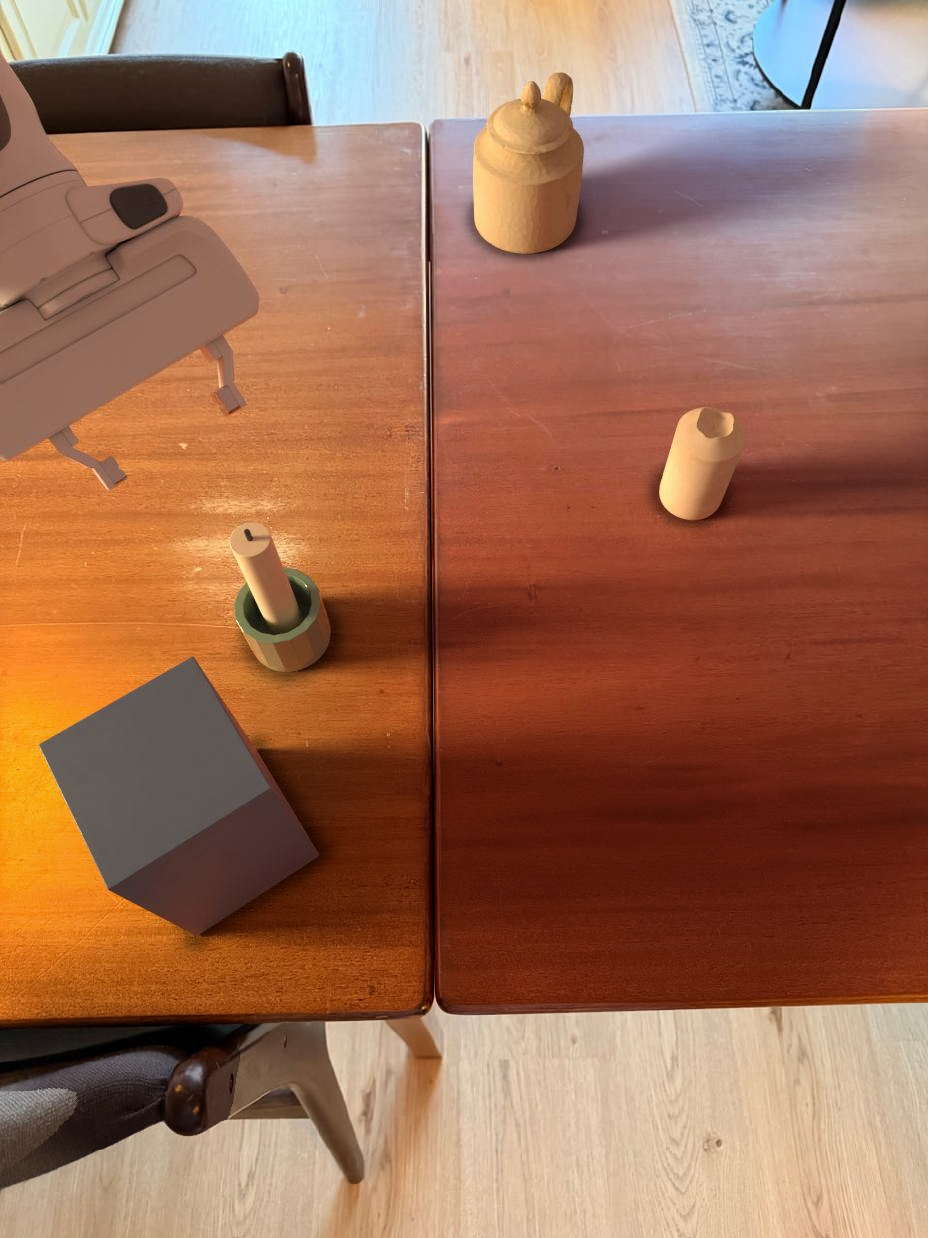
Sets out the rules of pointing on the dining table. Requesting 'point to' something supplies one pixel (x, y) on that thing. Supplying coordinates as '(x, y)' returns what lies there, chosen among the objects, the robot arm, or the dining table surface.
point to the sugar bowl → (529, 170)
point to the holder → (292, 646)
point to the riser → (177, 801)
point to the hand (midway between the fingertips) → (178, 447)
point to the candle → (701, 462)
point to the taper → (266, 577)
